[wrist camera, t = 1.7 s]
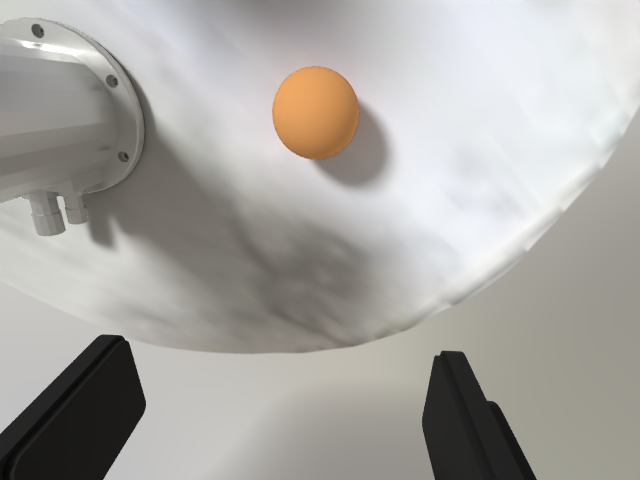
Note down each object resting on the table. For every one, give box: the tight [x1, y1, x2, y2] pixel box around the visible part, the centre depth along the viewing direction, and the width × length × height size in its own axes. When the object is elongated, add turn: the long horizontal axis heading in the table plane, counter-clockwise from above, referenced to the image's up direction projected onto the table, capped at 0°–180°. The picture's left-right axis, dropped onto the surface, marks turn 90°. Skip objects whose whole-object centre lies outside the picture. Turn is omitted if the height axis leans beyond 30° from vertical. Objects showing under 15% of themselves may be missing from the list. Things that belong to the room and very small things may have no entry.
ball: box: [272, 66, 359, 159], centre depth 23 cm, size 6×6×6 cm
